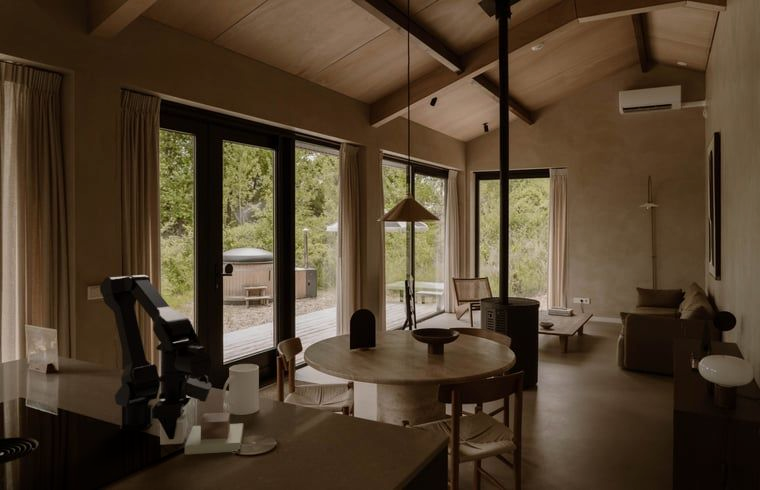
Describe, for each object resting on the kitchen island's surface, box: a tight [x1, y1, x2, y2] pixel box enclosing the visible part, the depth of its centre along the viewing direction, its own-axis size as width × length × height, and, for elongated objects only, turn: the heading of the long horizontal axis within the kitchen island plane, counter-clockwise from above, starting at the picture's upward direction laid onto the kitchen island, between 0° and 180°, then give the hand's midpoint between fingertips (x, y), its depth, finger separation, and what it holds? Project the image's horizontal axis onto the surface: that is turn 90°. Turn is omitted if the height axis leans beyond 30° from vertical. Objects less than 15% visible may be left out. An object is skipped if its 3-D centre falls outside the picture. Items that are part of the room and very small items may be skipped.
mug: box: [222, 363, 260, 416], centre depth 147 cm, size 12×8×12 cm
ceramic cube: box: [159, 414, 187, 446], centre depth 126 cm, size 5×5×5 cm
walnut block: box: [200, 411, 231, 440], centre depth 125 cm, size 6×6×4 cm
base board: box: [184, 422, 244, 455], centre depth 125 cm, size 12×12×2 cm
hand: (173, 434), depth 126 cm, fingers closed on ceramic cube, 5 cm apart
